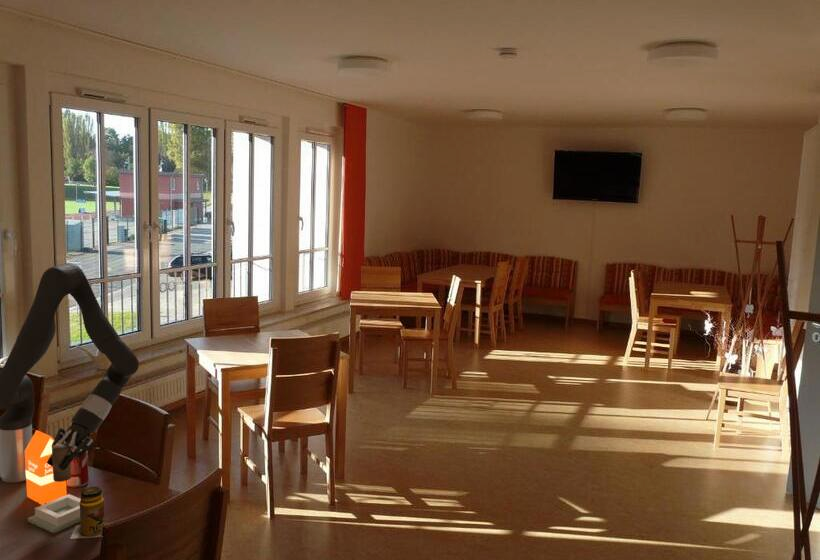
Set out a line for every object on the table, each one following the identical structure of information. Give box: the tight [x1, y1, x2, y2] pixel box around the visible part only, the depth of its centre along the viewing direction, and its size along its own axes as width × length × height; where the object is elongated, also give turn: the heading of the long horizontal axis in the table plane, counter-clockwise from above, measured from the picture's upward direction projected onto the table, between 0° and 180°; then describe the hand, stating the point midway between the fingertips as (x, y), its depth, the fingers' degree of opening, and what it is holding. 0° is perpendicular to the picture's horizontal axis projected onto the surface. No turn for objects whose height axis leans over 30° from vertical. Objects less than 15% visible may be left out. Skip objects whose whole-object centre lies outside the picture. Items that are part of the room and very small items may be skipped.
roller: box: [52, 442, 71, 482], centre depth 198 cm, size 4×4×10 cm
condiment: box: [69, 486, 108, 540], centre depth 192 cm, size 7×8×12 cm
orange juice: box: [24, 429, 68, 506], centre depth 211 cm, size 8×9×20 cm
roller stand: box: [27, 493, 81, 534], centre depth 200 cm, size 12×14×4 cm
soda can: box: [66, 449, 90, 489], centre depth 220 cm, size 7×7×12 cm
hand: (55, 466), depth 197 cm, fingers closed on roller, 4 cm apart
